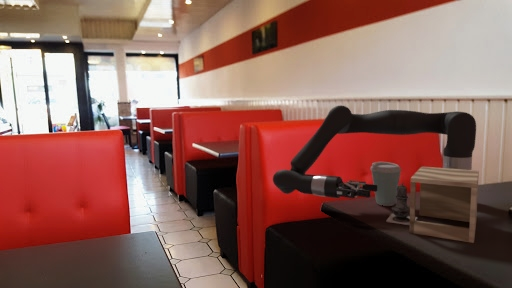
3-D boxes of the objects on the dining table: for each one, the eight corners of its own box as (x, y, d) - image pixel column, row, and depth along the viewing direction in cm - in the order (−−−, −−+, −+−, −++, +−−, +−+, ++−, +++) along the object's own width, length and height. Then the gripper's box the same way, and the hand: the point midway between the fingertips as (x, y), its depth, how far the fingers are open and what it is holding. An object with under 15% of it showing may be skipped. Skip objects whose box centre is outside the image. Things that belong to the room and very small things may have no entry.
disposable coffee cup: (406, 204, 136) (407, 163, 134) (388, 209, 130) (389, 167, 128) (382, 198, 145) (382, 160, 143) (363, 203, 139) (364, 163, 137)
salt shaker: (413, 223, 115) (414, 185, 113) (392, 222, 116) (393, 184, 115) (409, 217, 121) (410, 180, 119) (390, 216, 122) (390, 180, 120)
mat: (391, 214, 125) (391, 213, 125) (417, 218, 120) (417, 217, 120) (386, 221, 118) (386, 220, 118) (413, 225, 114) (413, 224, 114)
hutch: (419, 214, 124) (421, 166, 122) (476, 221, 116) (478, 170, 114) (409, 232, 108) (410, 177, 106) (473, 242, 99) (476, 183, 98)
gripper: (319, 179, 124) (368, 184, 115) (333, 172, 136) (379, 175, 127) (319, 201, 125) (368, 208, 116) (334, 192, 137) (379, 197, 128)
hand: (374, 191), depth 122 cm, fingers open, 8 cm apart
